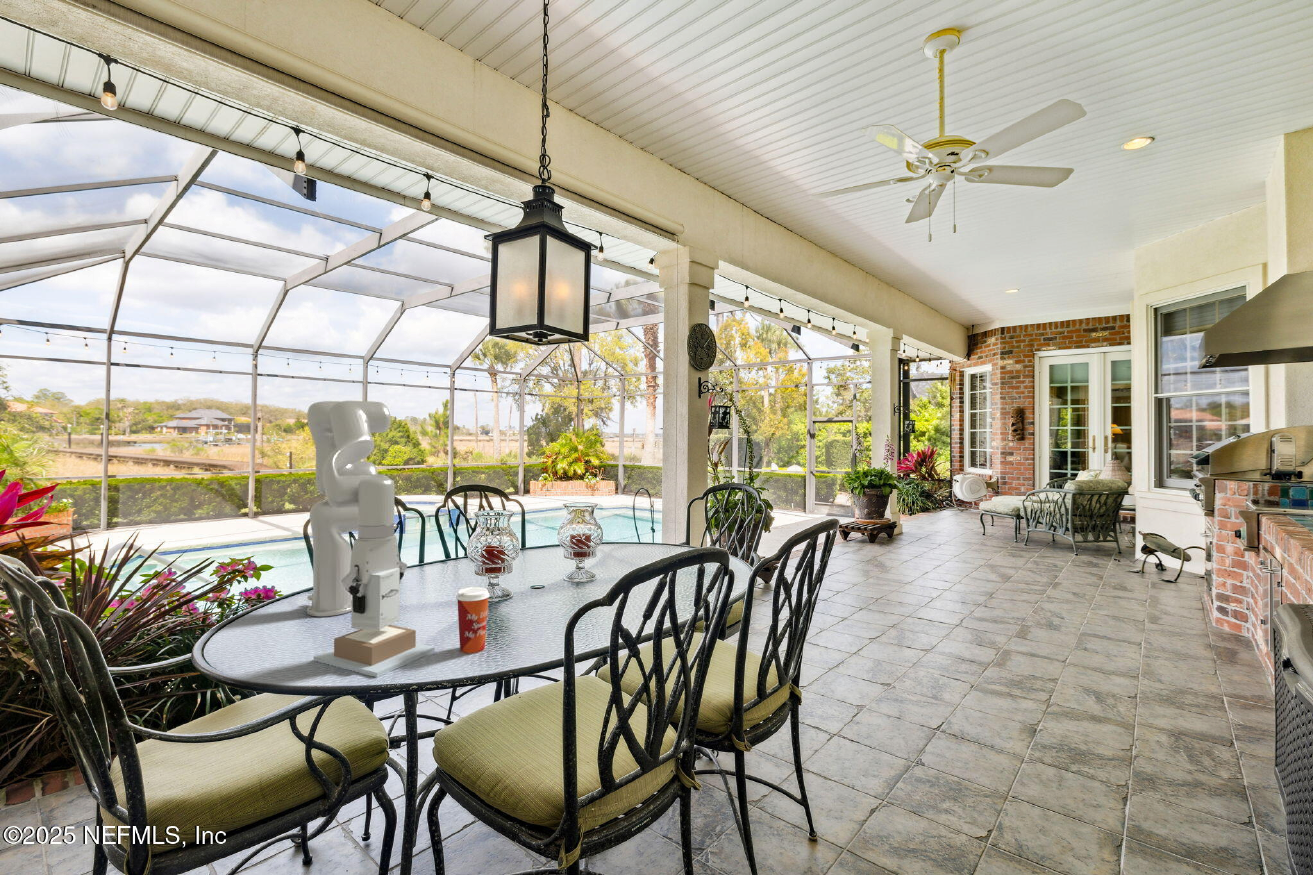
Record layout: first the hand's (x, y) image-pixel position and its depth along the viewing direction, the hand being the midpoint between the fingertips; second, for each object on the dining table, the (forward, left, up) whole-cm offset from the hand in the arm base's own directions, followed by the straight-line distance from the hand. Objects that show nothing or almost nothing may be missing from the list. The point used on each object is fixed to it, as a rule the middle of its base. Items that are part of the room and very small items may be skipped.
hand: (375, 606), depth 133 cm
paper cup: (+17, +13, -12) cm, 24 cm away
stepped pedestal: (0, 0, -11) cm, 11 cm away
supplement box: (0, 0, -4) cm, 4 cm away
